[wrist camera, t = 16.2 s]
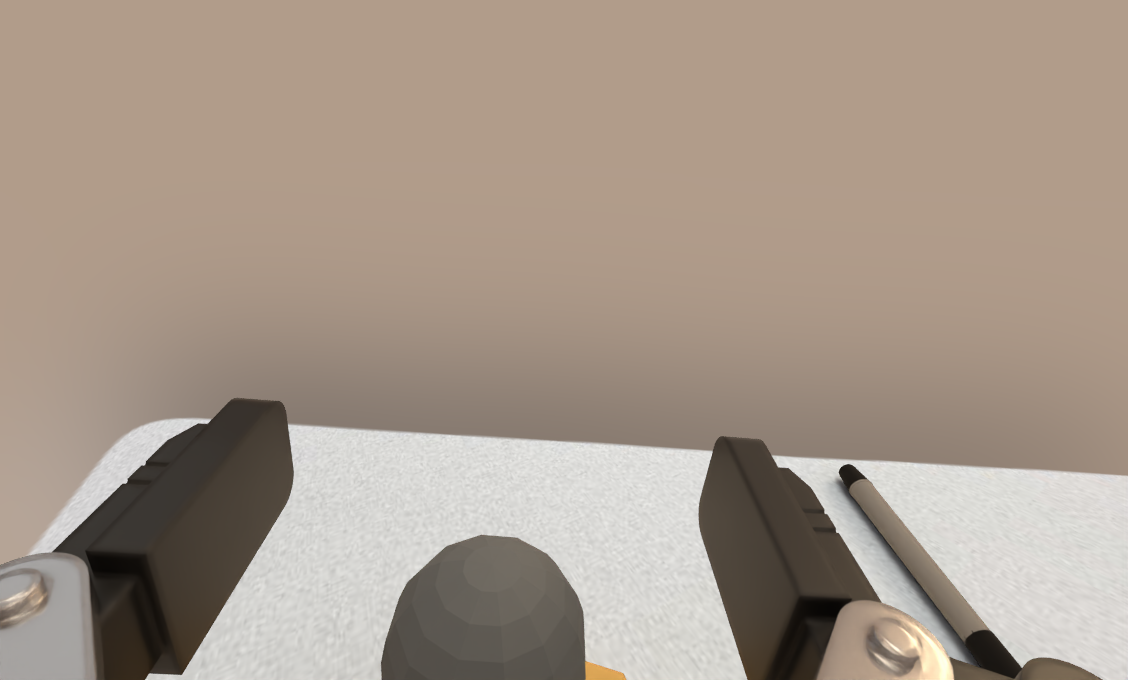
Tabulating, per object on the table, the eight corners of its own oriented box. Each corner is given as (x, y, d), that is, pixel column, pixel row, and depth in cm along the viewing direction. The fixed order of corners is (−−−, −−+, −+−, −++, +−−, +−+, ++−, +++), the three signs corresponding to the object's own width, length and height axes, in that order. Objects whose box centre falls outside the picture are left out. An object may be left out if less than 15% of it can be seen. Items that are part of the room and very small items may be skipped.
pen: (852, 479, 33) (860, 461, 32) (1120, 820, 18) (1143, 797, 17) (831, 478, 33) (838, 460, 32) (1083, 820, 18) (1104, 797, 17)
